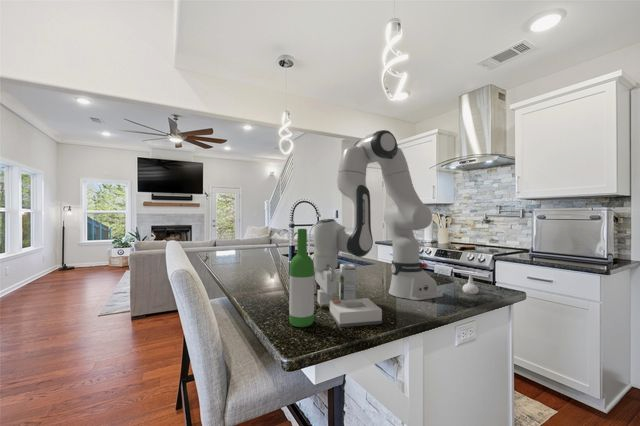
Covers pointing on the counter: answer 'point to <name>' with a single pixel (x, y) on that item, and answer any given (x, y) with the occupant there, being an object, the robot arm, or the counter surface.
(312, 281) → the wine bottle
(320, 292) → the plug
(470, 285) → the garlic bulb
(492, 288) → the counter surface
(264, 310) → the counter surface
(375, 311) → the socket block
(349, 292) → the syrup box
